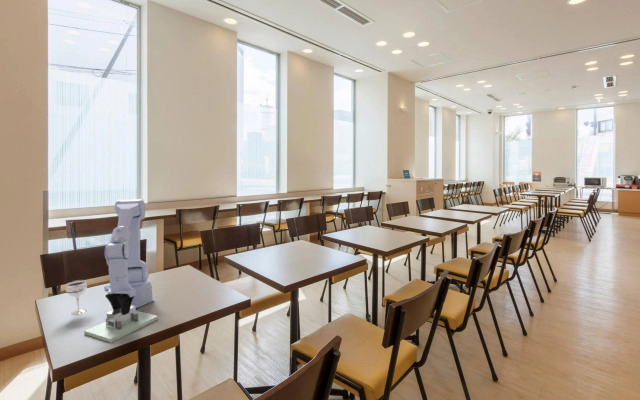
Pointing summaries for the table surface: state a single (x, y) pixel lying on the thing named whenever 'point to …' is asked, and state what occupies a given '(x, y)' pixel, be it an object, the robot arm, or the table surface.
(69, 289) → the wineglass
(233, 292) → the table surface
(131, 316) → the drive
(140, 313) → the pale green peg board
